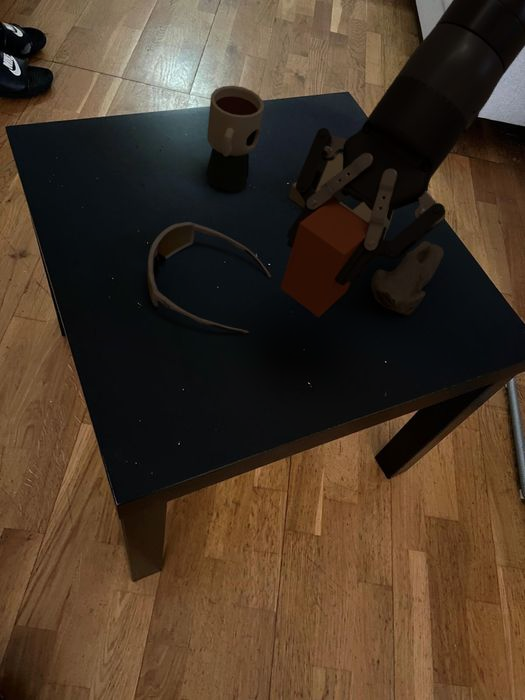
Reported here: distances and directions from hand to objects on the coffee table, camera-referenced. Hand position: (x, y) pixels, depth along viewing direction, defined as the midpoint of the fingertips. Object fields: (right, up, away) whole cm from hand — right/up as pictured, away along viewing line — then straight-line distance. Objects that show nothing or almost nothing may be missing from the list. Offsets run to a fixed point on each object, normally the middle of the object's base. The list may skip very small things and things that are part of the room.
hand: (315, 264), depth 50 cm
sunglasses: (-12, 0, +20) cm, 23 cm away
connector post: (0, -2, +5) cm, 5 cm away
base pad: (+7, +15, +33) cm, 37 cm away
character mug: (-10, +18, +32) cm, 38 cm away
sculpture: (+14, +1, +26) cm, 30 cm away
